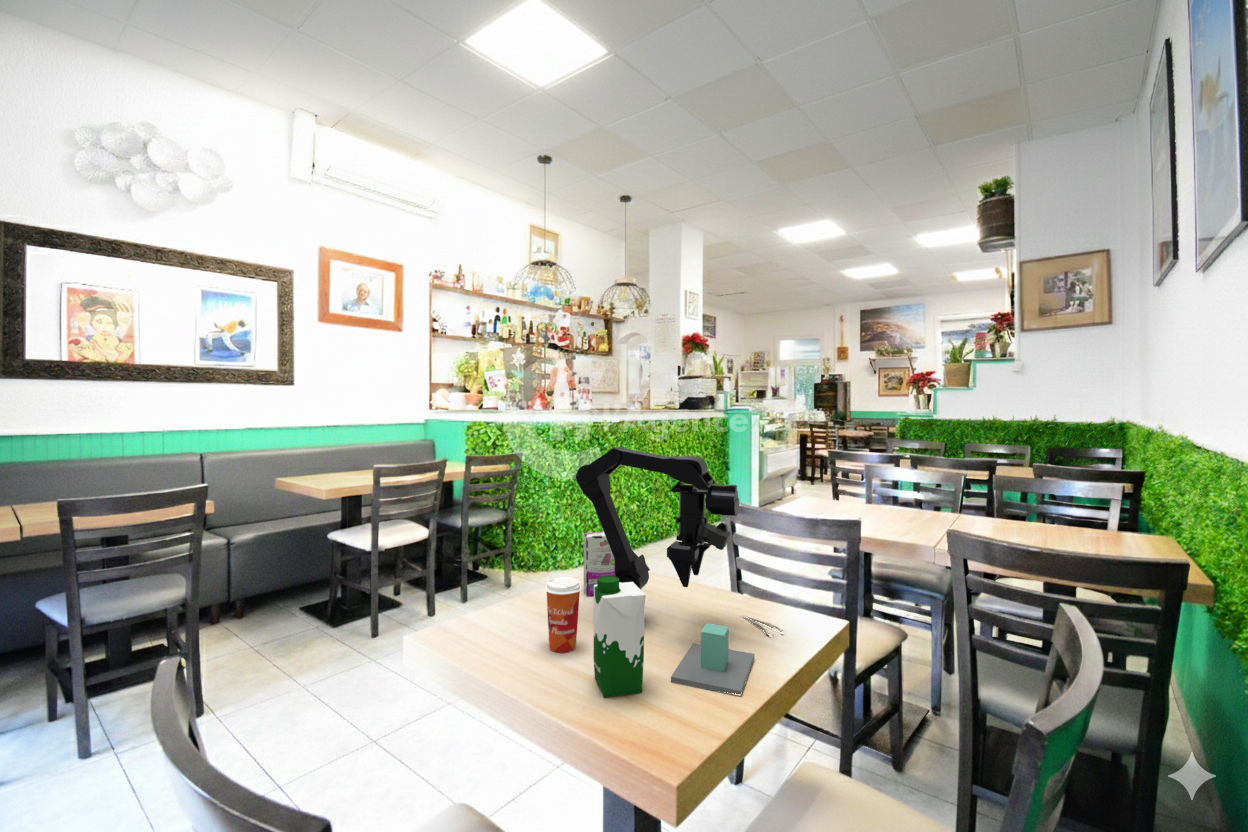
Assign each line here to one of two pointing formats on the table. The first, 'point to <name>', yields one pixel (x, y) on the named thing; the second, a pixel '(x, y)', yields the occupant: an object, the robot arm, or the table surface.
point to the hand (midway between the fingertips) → (690, 580)
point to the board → (713, 671)
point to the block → (714, 647)
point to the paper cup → (562, 613)
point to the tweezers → (762, 623)
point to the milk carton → (618, 636)
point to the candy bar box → (596, 560)
